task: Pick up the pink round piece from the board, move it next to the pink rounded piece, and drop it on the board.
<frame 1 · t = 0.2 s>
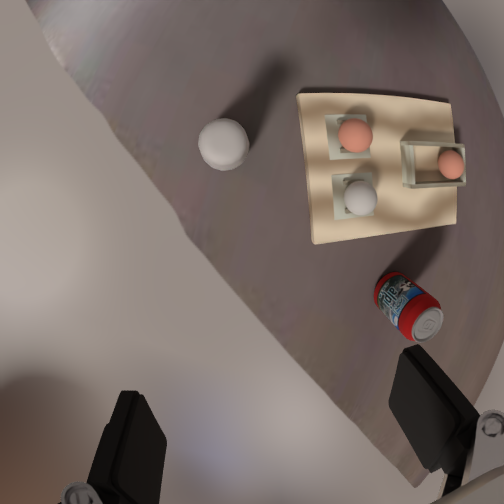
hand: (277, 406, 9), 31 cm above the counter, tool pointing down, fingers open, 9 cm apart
pink round piece: (348, 136, 34), point 2 cm above the counter, touching board
salt shaker: (225, 147, 35), on the counter
grey ball: (353, 195, 37), point 2 cm above the counter, touching board
beverage can: (388, 288, 44), on the counter
board: (389, 163, 37), on the counter
pink rounded piece: (442, 163, 36), point 1 cm above the counter, touching board
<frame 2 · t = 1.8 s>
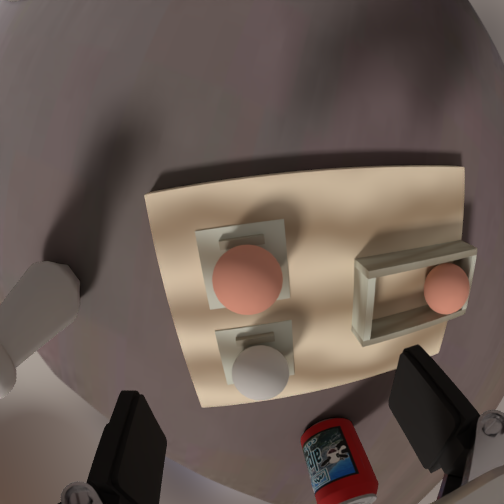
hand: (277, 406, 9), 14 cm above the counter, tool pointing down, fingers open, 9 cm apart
pink round piece: (245, 266, 20), point 2 cm above the counter, touching board
salt shaker: (63, 282, 21), on the counter
grey ball: (257, 355, 23), point 2 cm above the counter, touching board
beverage can: (325, 428, 30), on the counter
board: (333, 291, 23), on the counter
pink rounded piece: (432, 278, 22), point 1 cm above the counter, touching board
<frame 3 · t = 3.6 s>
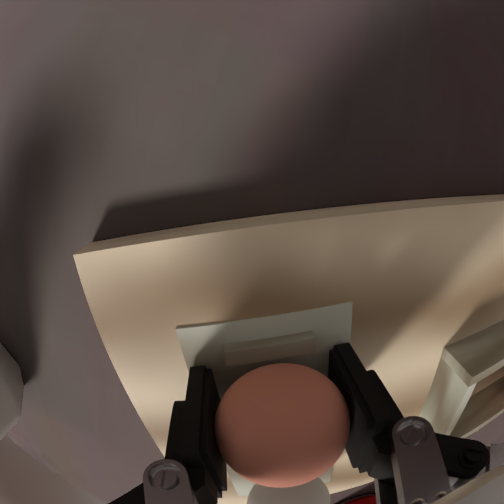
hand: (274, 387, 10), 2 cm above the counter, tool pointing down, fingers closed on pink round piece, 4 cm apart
pink round piece: (273, 383, 10), point 2 cm above the counter, touching board, gripper
salt shaker: (1, 361, 11), on the counter
grey ball: (282, 473, 13), point 2 cm above the counter, touching board
beverage can: (352, 502, 20), on the counter
board: (398, 384, 13), on the counter
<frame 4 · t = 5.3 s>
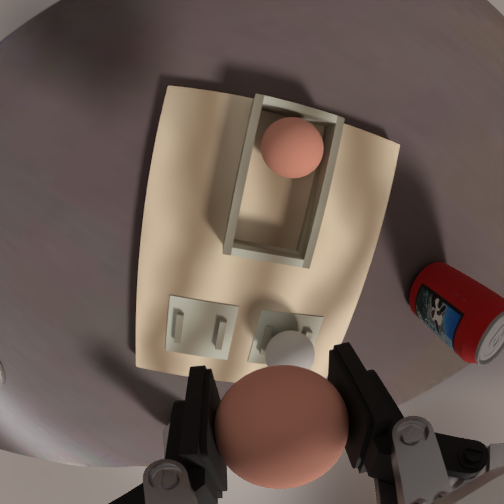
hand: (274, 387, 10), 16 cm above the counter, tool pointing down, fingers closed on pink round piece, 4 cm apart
pink round piece: (272, 384, 10), point 16 cm above the counter, touching gripper
grey ball: (285, 341, 26), point 2 cm above the counter, touching board
beverage can: (427, 286, 29), on the counter
board: (257, 259, 25), on the counter
pink rounded piece: (285, 148, 21), point 1 cm above the counter, touching board
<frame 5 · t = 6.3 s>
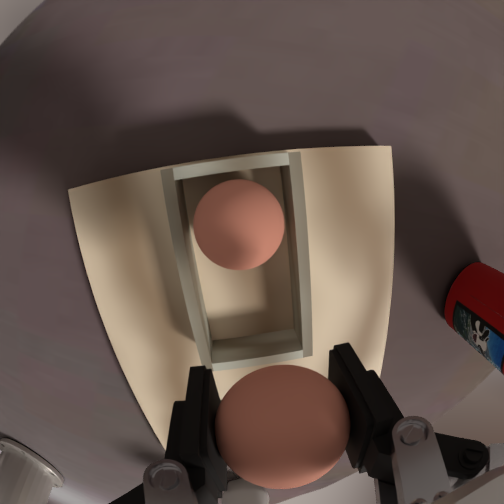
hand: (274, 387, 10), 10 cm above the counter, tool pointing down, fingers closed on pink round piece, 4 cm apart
pink round piece: (273, 384, 10), point 9 cm above the counter, touching gripper
salt shaker: (243, 483, 27), on the counter
beverage can: (462, 292, 22), on the counter
board: (254, 343, 20), on the counter
pink rounded piece: (236, 216, 16), point 1 cm above the counter, touching board
when the fingers open (5 cm above the counter, at t = 7.1 s): pink round piece drops 3 cm, resting on board.
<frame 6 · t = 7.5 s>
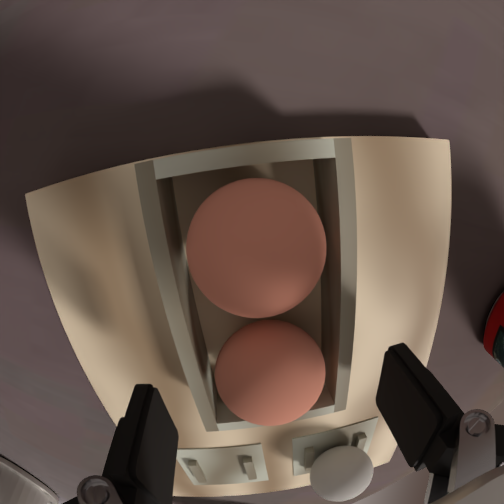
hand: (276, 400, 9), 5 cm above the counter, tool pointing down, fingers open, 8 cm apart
pink round piece: (264, 342, 13), point 1 cm above the counter, touching board
grey ball: (333, 451, 17), point 2 cm above the counter, touching board
beverage can: (501, 311, 17), on the counter
board: (268, 385, 16), on the counter
pink rounded piece: (251, 231, 11), point 1 cm above the counter, touching board
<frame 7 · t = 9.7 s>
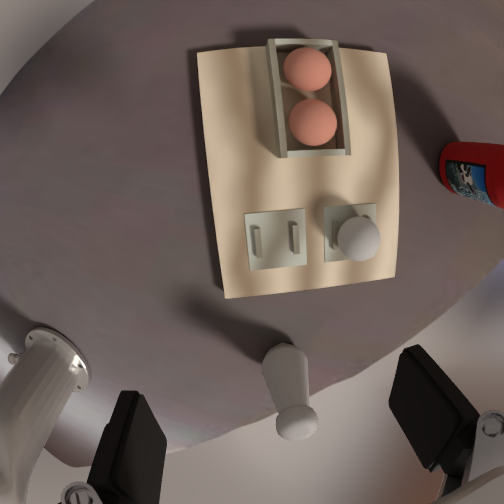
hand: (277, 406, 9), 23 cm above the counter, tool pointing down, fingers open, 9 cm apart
pink round piece: (307, 124, 26), point 2 cm above the counter, touching board
salt shaker: (282, 353, 36), on the counter
grey ball: (351, 232, 29), point 2 cm above the counter, touching board
beverage can: (452, 166, 29), on the counter
board: (308, 167, 29), on the counter
pink rounded piece: (302, 75, 24), point 1 cm above the counter, touching board
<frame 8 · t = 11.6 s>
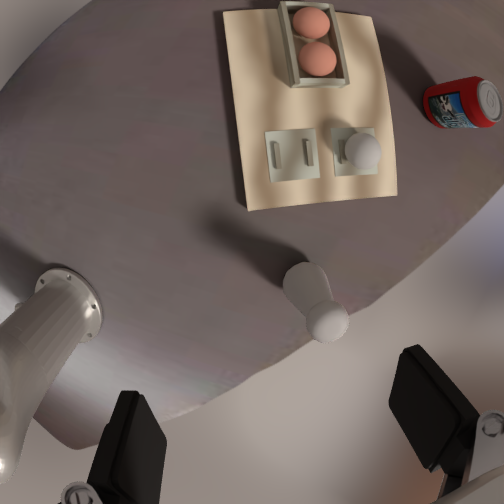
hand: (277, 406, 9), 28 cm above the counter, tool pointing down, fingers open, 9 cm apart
pink round piece: (313, 64, 29), point 2 cm above the counter, touching board
salt shaker: (300, 276, 39), on the counter
grey ball: (355, 151, 32), point 2 cm above the counter, touching board
beverage can: (435, 107, 33), on the counter
board: (314, 99, 32), on the counter
pink rounded piece: (306, 29, 27), point 1 cm above the counter, touching board
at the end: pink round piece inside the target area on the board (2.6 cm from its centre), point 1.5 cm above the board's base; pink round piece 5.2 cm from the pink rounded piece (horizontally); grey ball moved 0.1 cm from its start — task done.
